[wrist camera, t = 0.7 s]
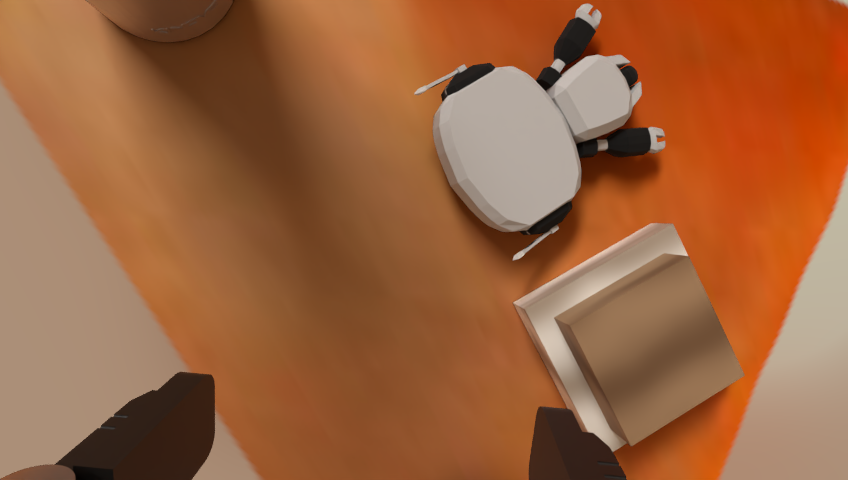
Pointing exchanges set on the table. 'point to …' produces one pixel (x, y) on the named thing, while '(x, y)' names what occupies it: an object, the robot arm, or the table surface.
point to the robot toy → (536, 131)
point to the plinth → (630, 337)
